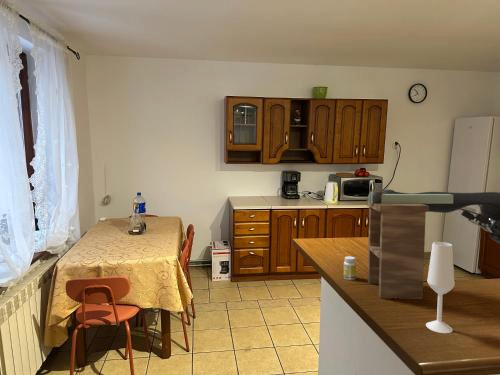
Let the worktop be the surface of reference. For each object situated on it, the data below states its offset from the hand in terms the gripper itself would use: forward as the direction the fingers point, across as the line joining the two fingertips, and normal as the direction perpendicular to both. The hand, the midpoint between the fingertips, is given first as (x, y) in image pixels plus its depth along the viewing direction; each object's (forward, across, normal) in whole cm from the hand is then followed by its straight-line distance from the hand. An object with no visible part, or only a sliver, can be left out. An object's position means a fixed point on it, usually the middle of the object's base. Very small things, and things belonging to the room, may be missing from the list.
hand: (469, 213), depth 121 cm
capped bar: (+20, 0, +7) cm, 21 cm away
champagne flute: (+5, +28, +36) cm, 46 cm away
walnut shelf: (+8, 0, +37) cm, 38 cm away
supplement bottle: (+19, -12, +44) cm, 49 cm away
